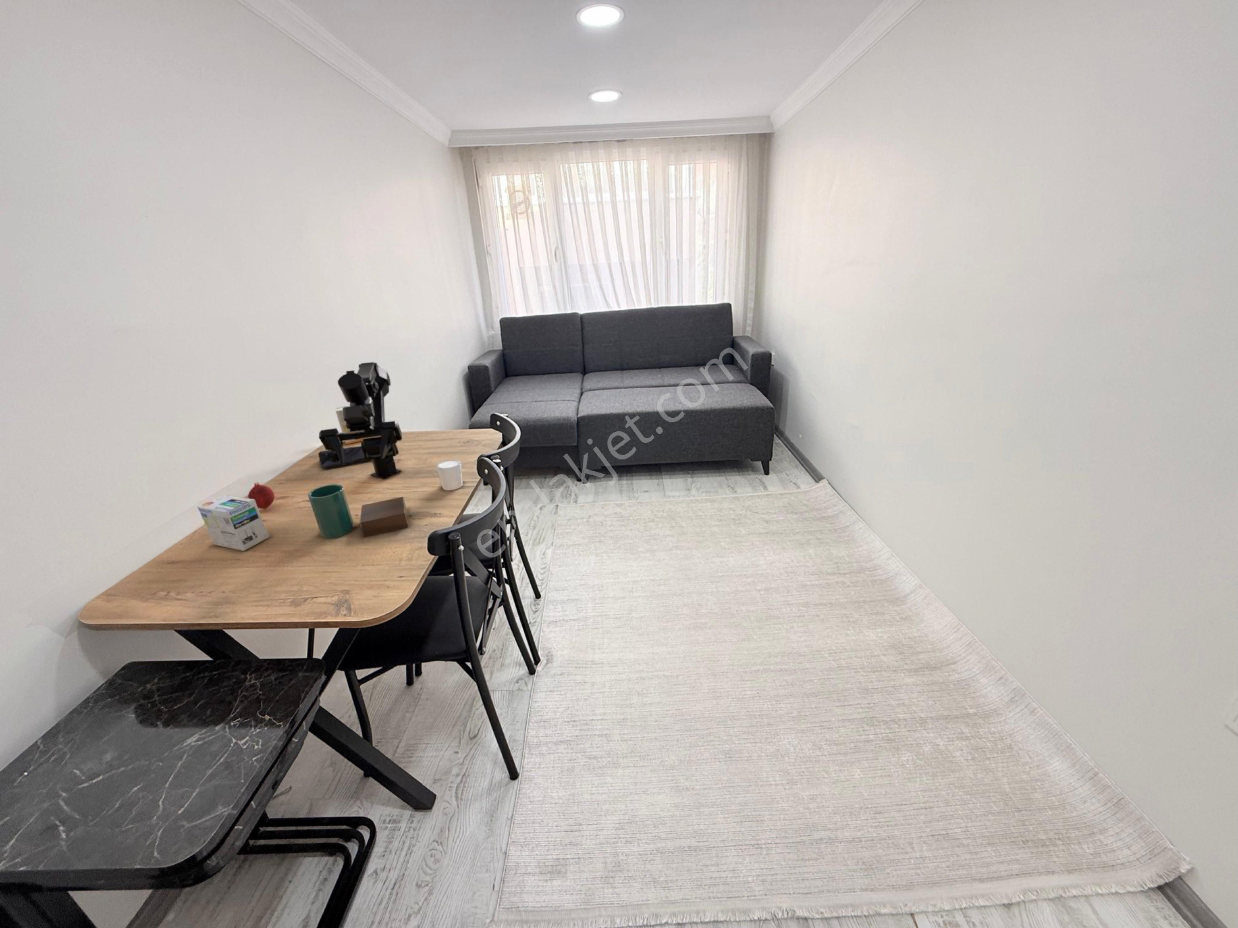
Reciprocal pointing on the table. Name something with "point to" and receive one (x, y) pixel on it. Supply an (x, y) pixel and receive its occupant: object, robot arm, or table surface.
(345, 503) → the cup
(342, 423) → the supplement box
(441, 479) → the white cylinder
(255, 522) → the light bulb box
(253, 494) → the pomegranate
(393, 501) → the block
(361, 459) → the dark slate chunk
